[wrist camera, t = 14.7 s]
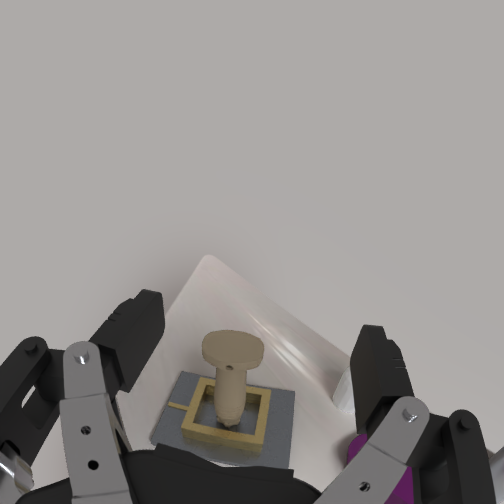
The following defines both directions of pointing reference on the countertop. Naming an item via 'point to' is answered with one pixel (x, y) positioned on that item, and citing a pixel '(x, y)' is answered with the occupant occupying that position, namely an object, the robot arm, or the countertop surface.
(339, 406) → the capsule
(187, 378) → the plate
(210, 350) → the handle
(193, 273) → the countertop surface
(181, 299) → the countertop surface
